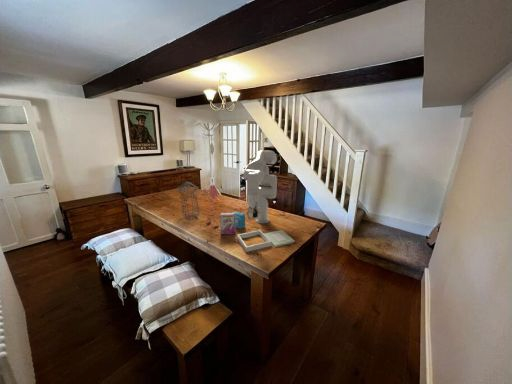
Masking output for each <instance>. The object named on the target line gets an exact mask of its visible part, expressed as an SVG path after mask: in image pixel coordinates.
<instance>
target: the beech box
mask: <svg viewBox="0 0 512 384" xmlns="http://www.w3.org/2000/svg"><path fill="white" fill-rule="evenodd" d="M255 208H256V207H255ZM253 212H254V211H253V209H252V208H251V207H250V206H249V205H248V206H247V207H246V218H247V219H248V220H249V221H253V220H256V219H259V218H260V207H259V210H258V217H255V218H253Z"/></svg>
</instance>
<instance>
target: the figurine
mask: <svg viewBox="0 0 512 384" xmlns="http://www.w3.org/2000/svg"><path fill="white" fill-rule="evenodd" d="M203 192H204V194H207V193H208V192H209V194H210V195H209V197H204V199H206V200H208V201H209V202H210V203H212V204H211V205H212V206H210V208H208V209H207V211H206V213H207V217H206V220H207V221H206V223H205V224H206V225H207V224H208V222H211V221H212V218H211V217H210V216H209V213H208V211H209V210H212V211H213V217H214V218H213V223H212V225H211V227H212V228H213V227H214V224H216V225H218V226H220V224H219V223H218V222H217V221H216V216H215V215H216V214H215V210H214V207H213V206H214V202H215V201H214V199H215V200H218V201H219V202H220V203H222V201H221V199H219V198H218V194H219V190H217V187H216V184H210V186H209V189H208V190H207V189H206V188H204V189H203ZM210 198H211V199H210ZM218 220H220V218H218Z"/></svg>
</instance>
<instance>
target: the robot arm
mask: <svg viewBox="0 0 512 384" xmlns="http://www.w3.org/2000/svg"><path fill="white" fill-rule="evenodd" d="M277 159H278V158H277V154H276V153H275V151H274V150H269V149H268V150H267V149H265V150H262V149H261V150H258V151H257V153H256V156H255V158H254V161H253V160H252V162H250V163H248V164H247V165H246V167H245V168H244V171H243V179H244V180H245V181H247V206H248V207H249V206H250V207H251V208H252V209H253V211H254V212H253V218H255V217H258V210H259V207H260V218H259V219H255V222H256V223H258V224H267V223H269V222H270V218H269V201H268V200H267V199H276V197H277V194H278V193H277V192H278V189H277V187H278V177H277V175H275V174H270V167H269V166H268V165H267V164H269V165H270V164H271V165H273V164H274V165H275V164H276V163H277ZM255 207H256V208H255Z"/></svg>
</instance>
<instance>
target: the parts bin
mask: <svg viewBox="0 0 512 384" xmlns="http://www.w3.org/2000/svg"><path fill="white" fill-rule="evenodd" d="M264 234H265V233H263V232H262V230H260V229H258V230H254V231H249V232H244V233H239V234H238V233H237V235H236V236H237V240H238V242H239V243H240V245H241V246H242V248H243V249H244V252H246V253H247V252H248V253H249V252H251V251H256V250H259V249H264V248H268V247H271V246H272V244H271V241H270V240H269V239H268V238H267V237H266V236H265V235H264ZM255 236H260V237H261V238H262V239H263V240H264V242H260V243H256V244H253V245H247V244H246V243H245V241H244V240H243V239H246V238H251V237H255Z"/></svg>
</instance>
